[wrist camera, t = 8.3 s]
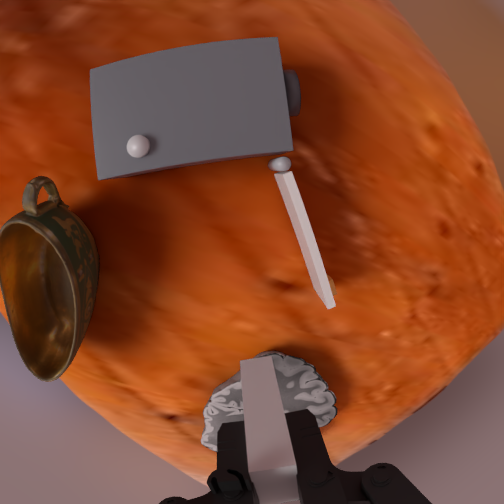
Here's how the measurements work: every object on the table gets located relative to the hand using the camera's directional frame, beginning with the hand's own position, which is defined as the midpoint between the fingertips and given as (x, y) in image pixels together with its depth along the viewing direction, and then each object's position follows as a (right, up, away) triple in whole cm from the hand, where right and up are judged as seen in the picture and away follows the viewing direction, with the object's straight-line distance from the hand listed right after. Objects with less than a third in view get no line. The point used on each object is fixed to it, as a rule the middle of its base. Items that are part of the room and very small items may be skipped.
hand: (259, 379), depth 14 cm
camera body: (-6, +20, +14) cm, 25 cm away
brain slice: (+2, -14, +24) cm, 28 cm away
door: (+4, +9, +18) cm, 20 cm away
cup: (-21, +4, +18) cm, 28 cm away
